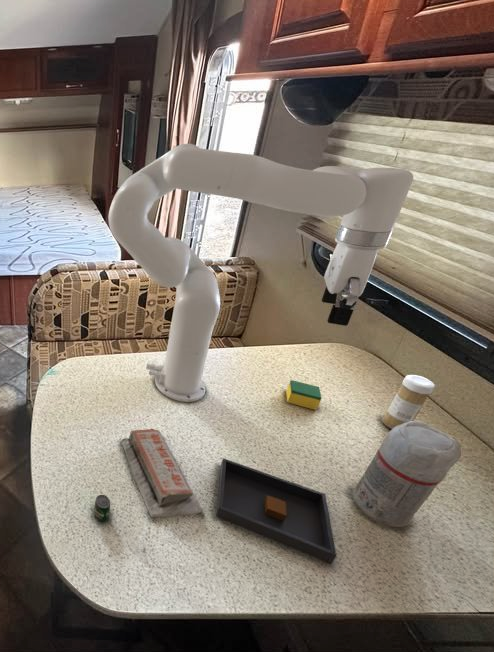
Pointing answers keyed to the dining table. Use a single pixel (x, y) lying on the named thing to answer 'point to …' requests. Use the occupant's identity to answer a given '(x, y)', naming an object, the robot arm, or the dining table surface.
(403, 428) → the grey plastic tub
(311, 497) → the pan
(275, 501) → the brown square tile
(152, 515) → the packaged product
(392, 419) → the sprinkles bottle
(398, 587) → the dining table surface
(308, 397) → the sponge
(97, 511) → the beer can
